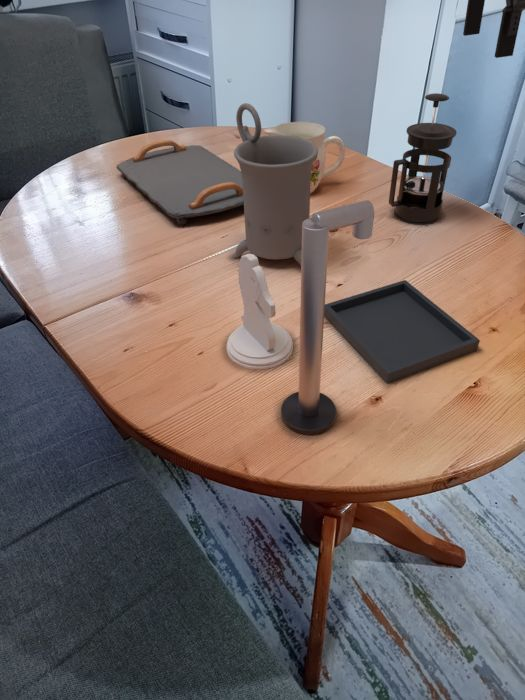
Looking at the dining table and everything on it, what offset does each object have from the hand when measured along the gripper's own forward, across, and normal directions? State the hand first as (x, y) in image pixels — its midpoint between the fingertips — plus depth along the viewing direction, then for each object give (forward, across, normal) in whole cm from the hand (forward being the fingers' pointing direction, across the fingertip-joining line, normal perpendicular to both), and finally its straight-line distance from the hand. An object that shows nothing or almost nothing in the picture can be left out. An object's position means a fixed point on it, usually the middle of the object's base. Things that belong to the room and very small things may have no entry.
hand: (486, 44), depth 93 cm
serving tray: (+27, -18, -57) cm, 66 cm away
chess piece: (+25, +41, -46) cm, 67 cm away
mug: (+27, +14, -41) cm, 51 cm away
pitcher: (+29, -13, -31) cm, 44 cm away
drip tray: (+26, +40, -26) cm, 54 cm away
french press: (+29, +4, -11) cm, 32 cm away
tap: (+24, +55, -40) cm, 72 cm away
